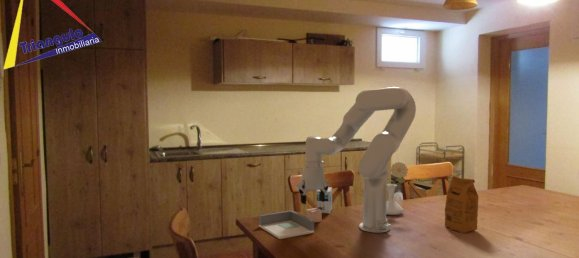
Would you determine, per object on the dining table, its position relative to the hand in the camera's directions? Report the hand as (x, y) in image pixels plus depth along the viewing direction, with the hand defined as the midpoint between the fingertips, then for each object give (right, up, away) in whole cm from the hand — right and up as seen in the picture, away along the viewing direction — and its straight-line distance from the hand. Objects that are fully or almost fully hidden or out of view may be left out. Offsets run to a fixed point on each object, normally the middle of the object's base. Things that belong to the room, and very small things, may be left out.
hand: (312, 202), depth 180 cm
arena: (-12, -9, -12) cm, 19 cm away
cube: (+1, -8, 0) cm, 8 cm away
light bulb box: (+7, -7, +18) cm, 20 cm away
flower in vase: (+39, -8, +12) cm, 41 cm away
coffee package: (+61, -9, -11) cm, 63 cm away
